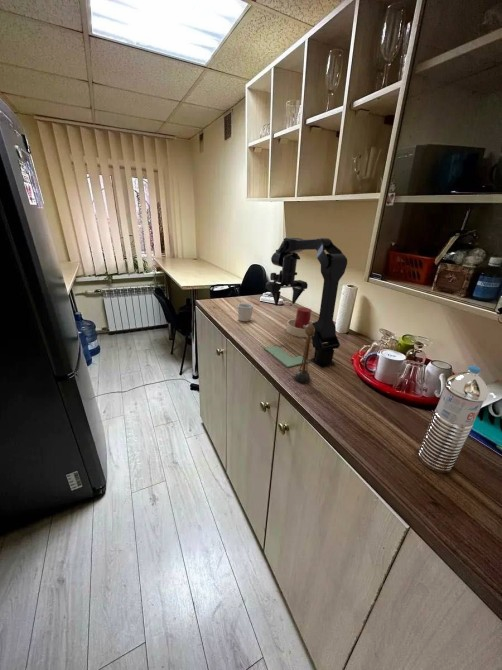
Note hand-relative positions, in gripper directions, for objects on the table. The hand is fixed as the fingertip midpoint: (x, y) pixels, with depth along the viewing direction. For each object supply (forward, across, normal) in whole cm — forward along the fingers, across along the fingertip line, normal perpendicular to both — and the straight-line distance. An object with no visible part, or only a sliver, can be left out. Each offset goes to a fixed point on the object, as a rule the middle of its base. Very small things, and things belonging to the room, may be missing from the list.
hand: (284, 304), depth 121 cm
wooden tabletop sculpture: (+15, +16, +34) cm, 40 cm away
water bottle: (+15, +10, +75) cm, 77 cm away
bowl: (+15, -11, +1) cm, 18 cm away
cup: (+10, +7, -24) cm, 27 cm away
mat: (+15, +10, +18) cm, 26 cm away
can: (+14, -11, +1) cm, 18 cm away
